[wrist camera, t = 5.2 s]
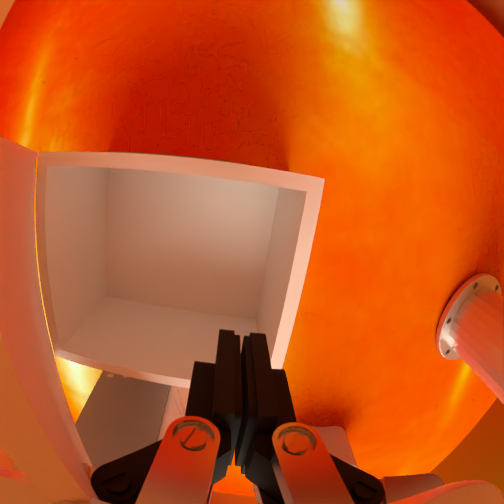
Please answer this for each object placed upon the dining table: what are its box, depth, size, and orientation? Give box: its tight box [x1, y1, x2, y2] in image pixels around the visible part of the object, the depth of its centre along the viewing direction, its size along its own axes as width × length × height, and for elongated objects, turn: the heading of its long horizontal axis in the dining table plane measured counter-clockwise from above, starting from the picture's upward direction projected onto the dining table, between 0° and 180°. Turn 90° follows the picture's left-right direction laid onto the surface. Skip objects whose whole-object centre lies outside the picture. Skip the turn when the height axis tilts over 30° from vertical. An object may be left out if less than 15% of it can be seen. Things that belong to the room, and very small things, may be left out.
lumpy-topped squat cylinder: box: [310, 426, 358, 468], centre depth 30 cm, size 10×13×9 cm
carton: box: [36, 151, 325, 388], centre depth 19 cm, size 16×14×10 cm
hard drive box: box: [75, 370, 190, 467], centre depth 20 cm, size 16×8×20 cm, turn 5°
